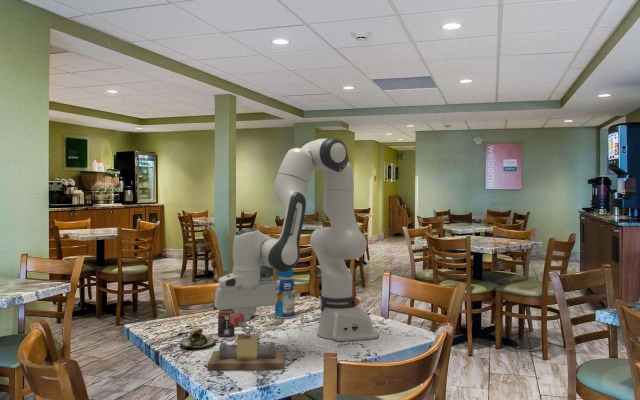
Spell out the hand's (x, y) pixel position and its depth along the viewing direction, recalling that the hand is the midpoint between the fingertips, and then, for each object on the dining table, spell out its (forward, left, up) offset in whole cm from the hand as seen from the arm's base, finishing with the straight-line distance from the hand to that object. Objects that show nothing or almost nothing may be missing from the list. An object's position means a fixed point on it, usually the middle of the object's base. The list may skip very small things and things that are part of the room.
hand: (246, 321), depth 166 cm
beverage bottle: (-12, -46, -10) cm, 49 cm away
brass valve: (-1, +12, -8) cm, 15 cm away
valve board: (-1, +12, -10) cm, 16 cm away
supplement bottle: (+9, -19, -10) cm, 23 cm away
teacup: (+5, -48, -10) cm, 49 cm away
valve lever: (+1, +6, -1) cm, 6 cm away
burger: (+17, -7, -10) cm, 21 cm away
